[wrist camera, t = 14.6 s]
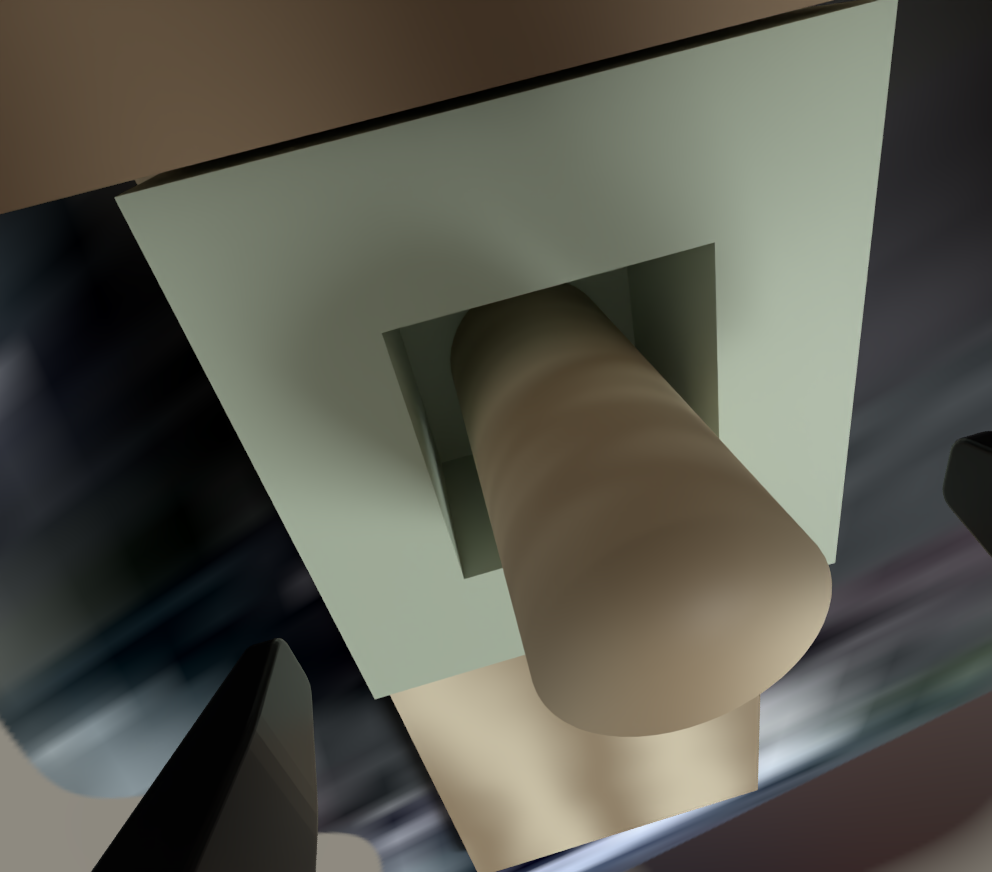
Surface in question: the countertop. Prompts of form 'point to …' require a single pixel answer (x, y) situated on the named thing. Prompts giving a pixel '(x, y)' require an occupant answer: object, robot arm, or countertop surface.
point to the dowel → (626, 525)
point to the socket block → (523, 269)
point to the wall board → (561, 765)
